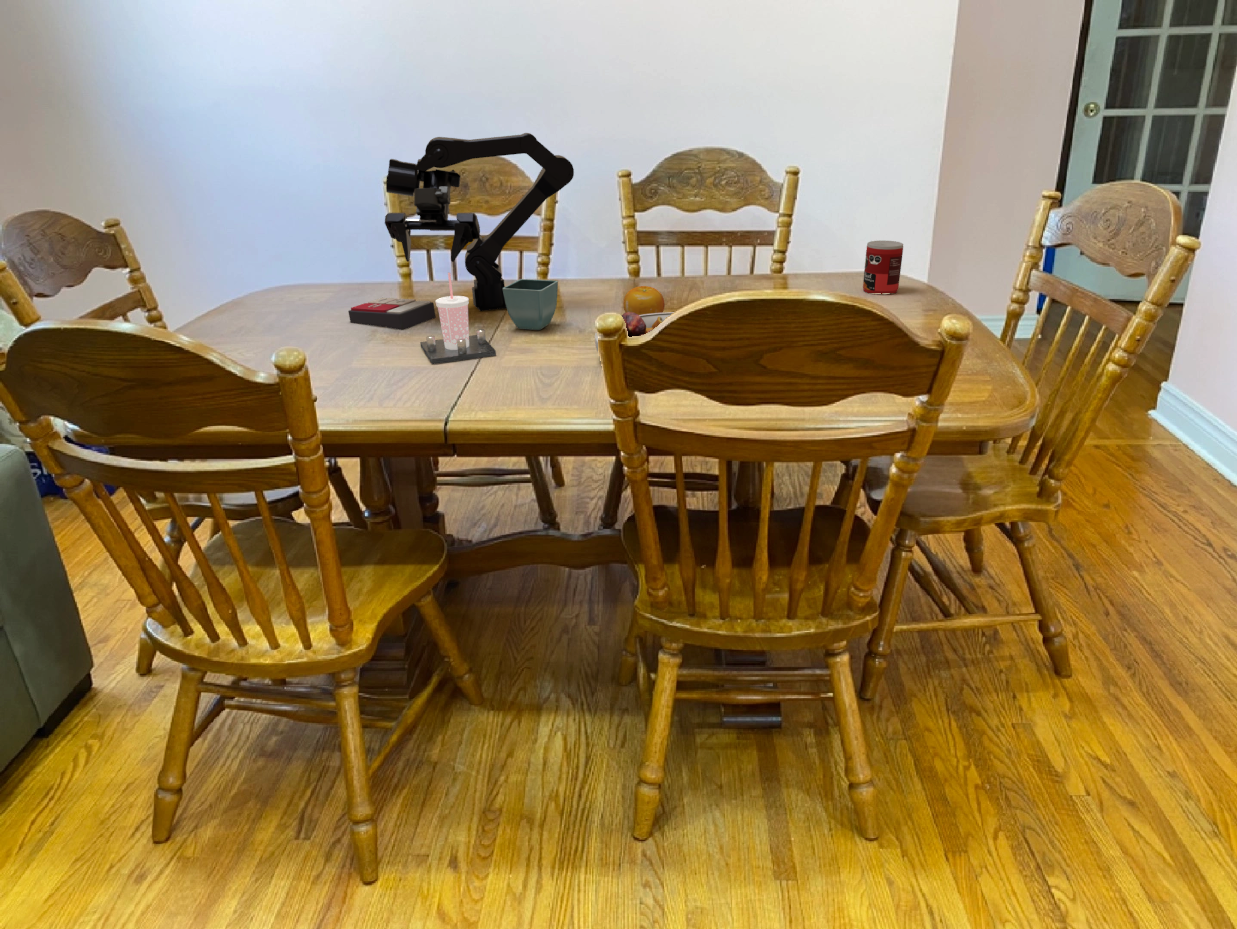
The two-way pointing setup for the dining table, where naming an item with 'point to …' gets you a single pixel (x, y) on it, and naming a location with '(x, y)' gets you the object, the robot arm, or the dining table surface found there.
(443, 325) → the beverage cup
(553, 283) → the flower pot
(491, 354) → the chassis plate
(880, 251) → the canned food
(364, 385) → the dining table surface
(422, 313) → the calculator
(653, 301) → the fruit
